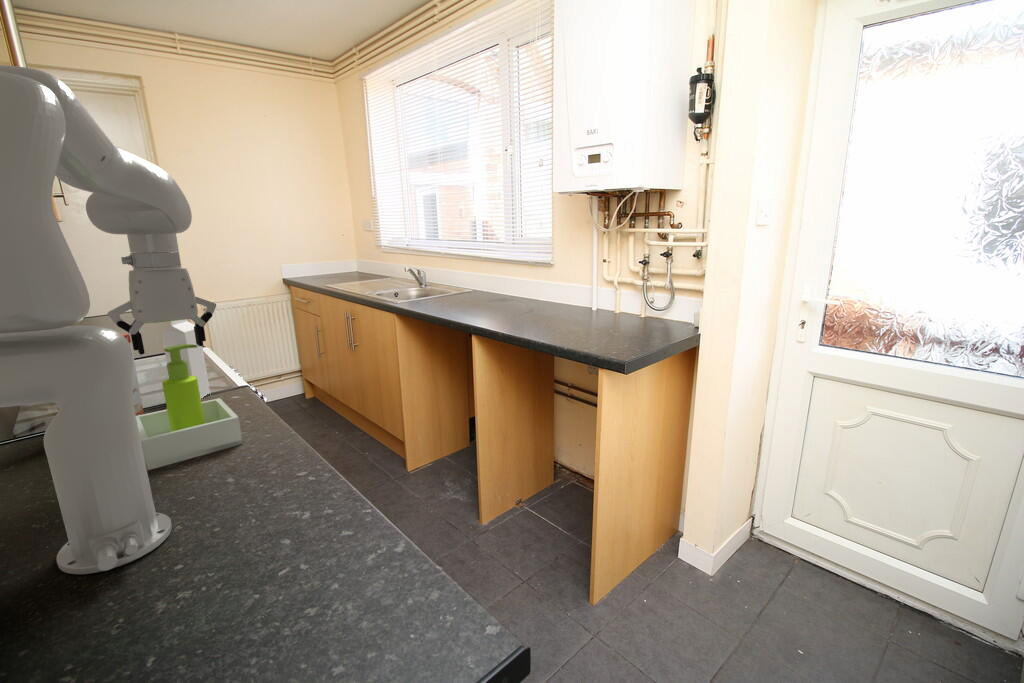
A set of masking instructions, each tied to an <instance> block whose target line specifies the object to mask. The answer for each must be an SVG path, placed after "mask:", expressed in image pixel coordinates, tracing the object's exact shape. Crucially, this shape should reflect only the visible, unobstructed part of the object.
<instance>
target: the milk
mask: <svg viewBox="0 0 1024 683" xmlns="http://www.w3.org/2000/svg"><path fill="white" fill-rule="evenodd" d="M169 322H170V326H169V327H167V328H166V329H164V330H162V331H161V333H160V334H161V340H162V345H163V351H164V356H165V362H166V365H167V364H168V363H169V362H171V357H170V352H166V351H165V350H164V348H168V347H172V346H176V345H181V344H194V345H197V344H196V338H195V332H194V326H195V324H193V323H191V322H189V321H188V319H186V320H177V321H169ZM180 354H181V360H184V361H186V362H187V365H188V371H189V375H191V376H196V377H197V380H198V386H199V392H200V398H203V397H204V396H206V395H207V394H209V393H210V394H211V390H210V383H209V378H208V372H207V365H206V359H205V355H204V345H203V346H197V348H186V349H181V350H180Z"/></svg>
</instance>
